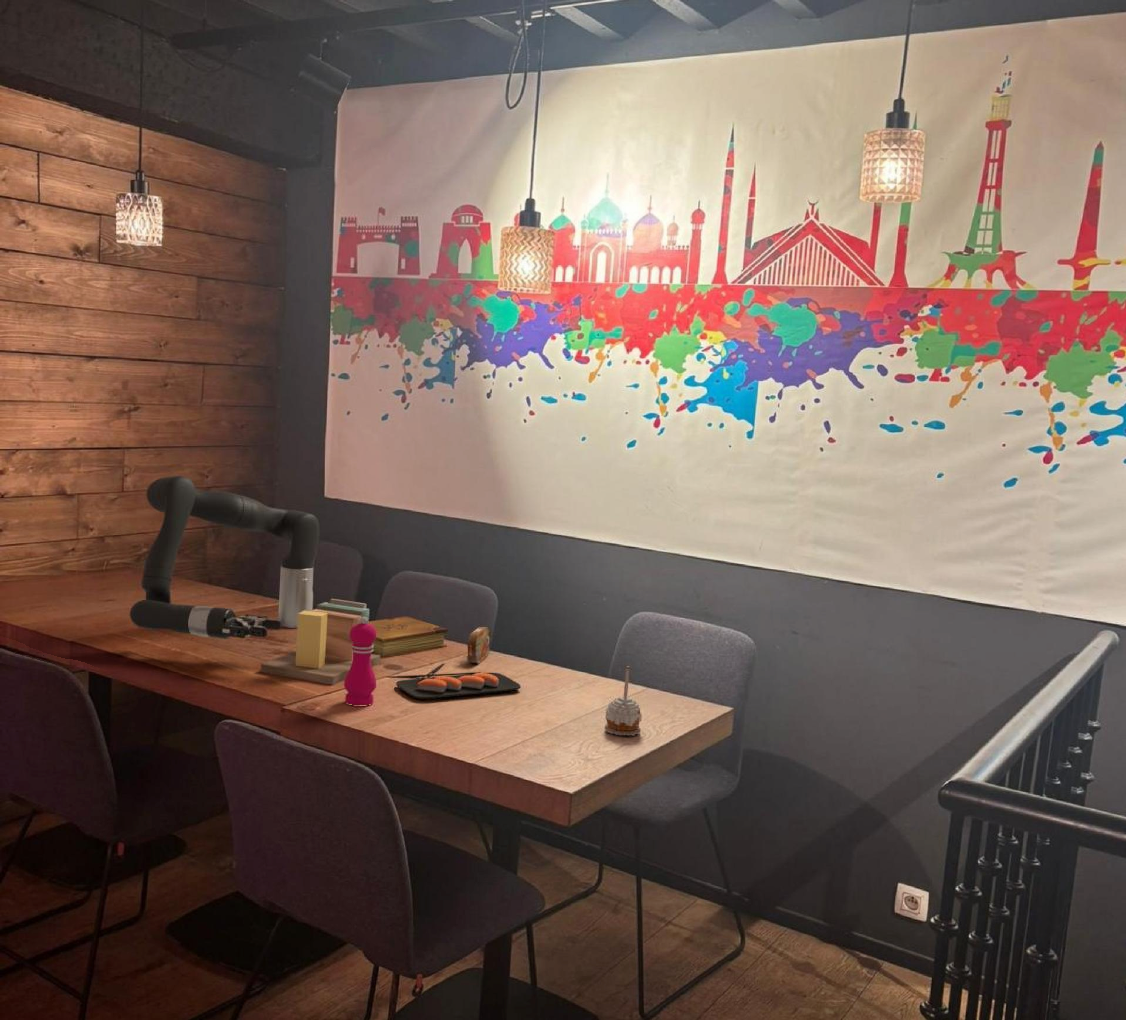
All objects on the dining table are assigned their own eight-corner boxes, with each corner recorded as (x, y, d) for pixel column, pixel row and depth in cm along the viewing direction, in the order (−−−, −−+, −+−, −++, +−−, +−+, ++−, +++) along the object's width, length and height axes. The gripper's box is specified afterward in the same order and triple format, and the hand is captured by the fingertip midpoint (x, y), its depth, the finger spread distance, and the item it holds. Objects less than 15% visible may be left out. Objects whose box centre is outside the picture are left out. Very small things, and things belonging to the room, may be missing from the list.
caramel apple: (646, 735, 240) (652, 669, 238) (619, 739, 235) (625, 672, 233) (625, 724, 246) (630, 660, 244) (597, 729, 241) (603, 663, 240)
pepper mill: (347, 696, 251) (351, 612, 248) (378, 699, 250) (383, 614, 248) (339, 705, 243) (344, 618, 241) (371, 708, 243) (376, 621, 241)
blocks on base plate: (312, 651, 288) (315, 596, 286) (380, 662, 282) (383, 606, 280) (260, 672, 265) (263, 612, 263) (332, 684, 259) (336, 623, 257)
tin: (475, 667, 285) (477, 635, 284) (464, 665, 286) (466, 634, 285) (490, 654, 300) (493, 624, 299) (479, 652, 300) (482, 623, 299)
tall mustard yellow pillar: (301, 661, 270) (304, 610, 268) (324, 664, 269) (327, 613, 268) (295, 665, 266) (298, 613, 265) (318, 668, 265) (321, 616, 264)
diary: (403, 635, 316) (404, 615, 316) (446, 649, 304) (447, 628, 304) (338, 644, 299) (340, 624, 298) (382, 659, 287) (383, 638, 286)
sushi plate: (415, 706, 250) (416, 689, 249) (367, 671, 275) (368, 656, 274) (525, 694, 265) (526, 679, 265) (469, 663, 290) (470, 649, 290)
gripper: (198, 612, 263) (262, 620, 260) (225, 601, 277) (285, 608, 275) (197, 643, 263) (261, 650, 261) (223, 630, 277) (284, 637, 275)
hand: (273, 628), depth 268 cm, fingers open, 8 cm apart
